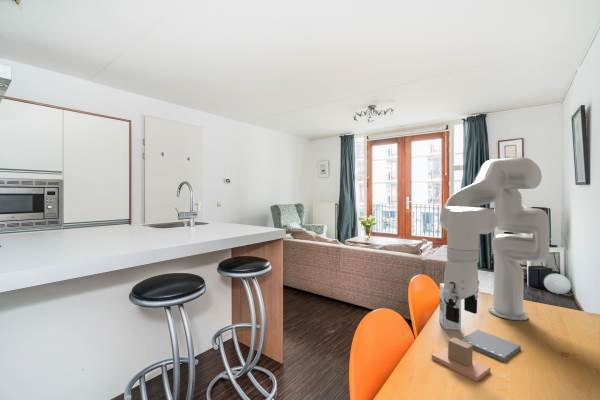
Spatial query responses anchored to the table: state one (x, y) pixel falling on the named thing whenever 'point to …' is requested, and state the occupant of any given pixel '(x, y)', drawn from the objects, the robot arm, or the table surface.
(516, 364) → the table surface
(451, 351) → the pink slab with block
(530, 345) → the table surface
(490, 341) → the grey dotted square slab
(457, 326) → the syrup box
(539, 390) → the table surface
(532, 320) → the table surface
